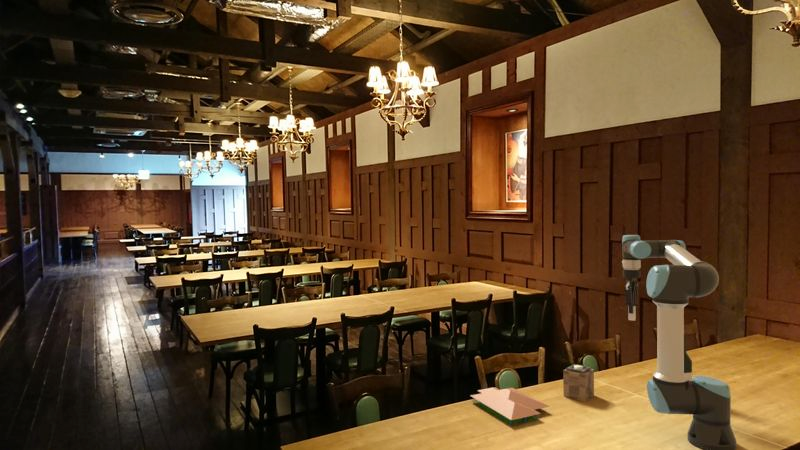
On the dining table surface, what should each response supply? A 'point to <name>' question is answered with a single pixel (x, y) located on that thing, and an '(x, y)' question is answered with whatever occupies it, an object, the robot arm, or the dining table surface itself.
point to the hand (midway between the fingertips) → (631, 320)
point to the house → (509, 403)
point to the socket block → (578, 383)
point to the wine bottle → (687, 362)
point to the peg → (578, 367)
